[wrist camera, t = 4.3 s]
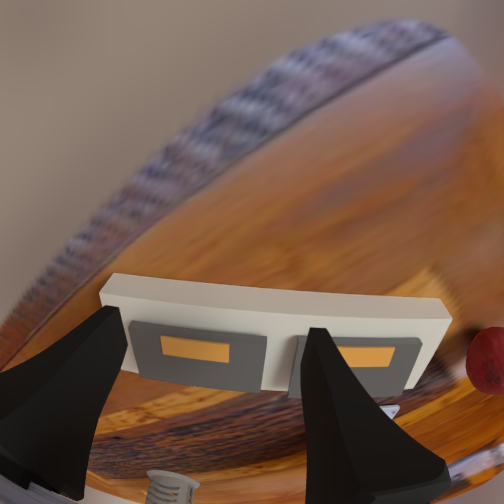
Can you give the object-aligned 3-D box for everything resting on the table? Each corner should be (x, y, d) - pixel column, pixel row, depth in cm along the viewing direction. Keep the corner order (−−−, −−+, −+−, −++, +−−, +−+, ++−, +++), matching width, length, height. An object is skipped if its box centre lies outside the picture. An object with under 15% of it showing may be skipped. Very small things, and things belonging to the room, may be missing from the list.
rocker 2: (398, 389, 21) (401, 396, 20) (287, 390, 21) (288, 399, 20) (418, 337, 19) (423, 344, 19) (298, 335, 20) (299, 343, 19)
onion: (443, 347, 24) (474, 414, 17) (484, 301, 21) (528, 364, 14) (472, 360, 25) (500, 418, 18) (508, 319, 22) (546, 376, 15)
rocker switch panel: (392, 390, 27) (398, 410, 24) (137, 373, 27) (129, 393, 25) (439, 298, 21) (452, 318, 19) (113, 272, 22) (98, 292, 19)
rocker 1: (260, 384, 22) (260, 394, 21) (143, 369, 22) (139, 378, 21) (267, 336, 19) (266, 346, 18) (131, 320, 20) (127, 329, 19)
